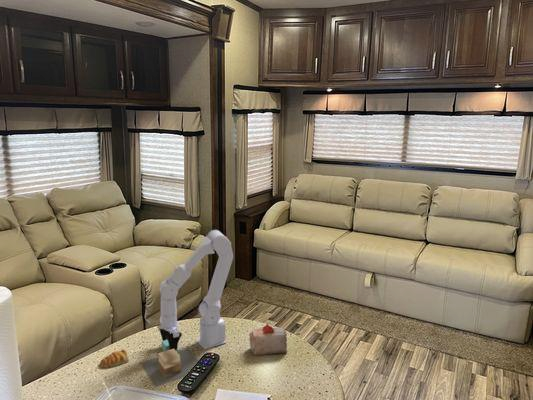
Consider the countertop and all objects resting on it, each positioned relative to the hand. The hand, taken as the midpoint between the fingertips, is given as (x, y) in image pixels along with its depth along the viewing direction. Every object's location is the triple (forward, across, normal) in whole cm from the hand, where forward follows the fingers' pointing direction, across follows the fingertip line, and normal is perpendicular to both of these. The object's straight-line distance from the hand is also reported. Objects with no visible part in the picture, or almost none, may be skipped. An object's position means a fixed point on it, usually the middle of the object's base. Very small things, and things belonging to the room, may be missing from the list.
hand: (169, 346), depth 152 cm
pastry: (+2, -3, -19) cm, 19 cm away
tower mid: (-2, +13, -5) cm, 14 cm away
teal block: (+2, 0, 0) cm, 2 cm away
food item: (+2, +20, +31) cm, 37 cm away
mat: (+1, +11, -3) cm, 11 cm away
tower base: (+1, +13, -5) cm, 14 cm away
